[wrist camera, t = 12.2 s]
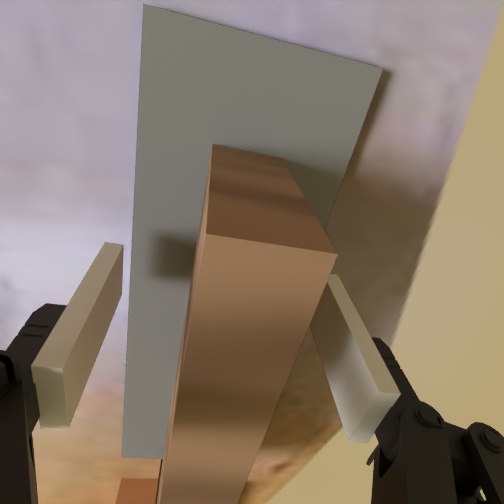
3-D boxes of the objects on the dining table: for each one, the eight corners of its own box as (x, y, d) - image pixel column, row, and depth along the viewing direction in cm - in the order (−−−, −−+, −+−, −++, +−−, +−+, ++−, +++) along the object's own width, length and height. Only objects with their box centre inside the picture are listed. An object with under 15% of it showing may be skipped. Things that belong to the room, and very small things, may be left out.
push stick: (209, 143, 14) (201, 233, 7) (283, 158, 14) (342, 254, 8) (162, 454, 25) (140, 604, 18) (204, 455, 26) (199, 601, 19)
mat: (146, 5, 12) (143, 3, 11) (376, 67, 13) (383, 68, 13) (123, 449, 25) (121, 457, 25) (239, 453, 27) (239, 461, 27)
